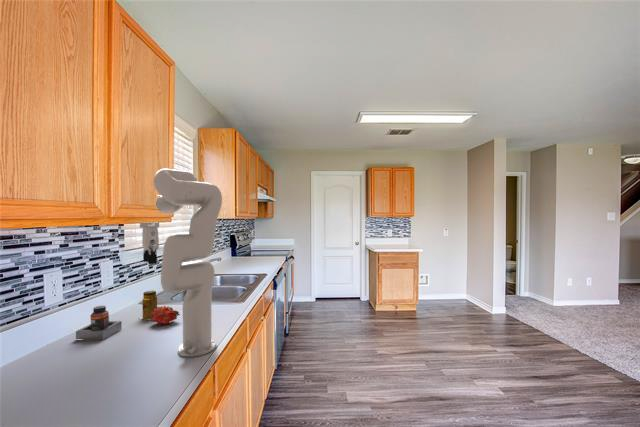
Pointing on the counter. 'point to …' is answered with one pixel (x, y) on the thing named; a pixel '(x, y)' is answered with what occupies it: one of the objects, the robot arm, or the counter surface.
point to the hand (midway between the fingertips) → (149, 262)
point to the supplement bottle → (99, 318)
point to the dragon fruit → (163, 315)
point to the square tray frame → (99, 331)
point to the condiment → (149, 304)
